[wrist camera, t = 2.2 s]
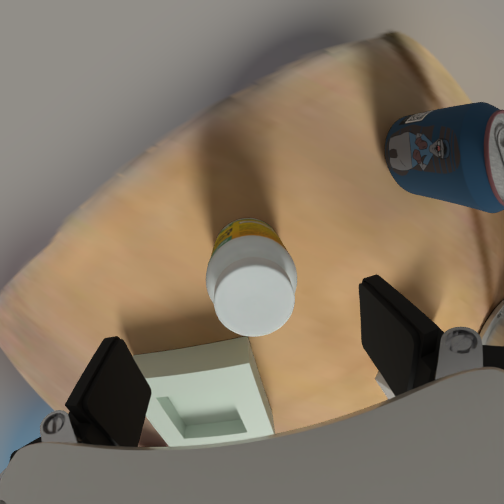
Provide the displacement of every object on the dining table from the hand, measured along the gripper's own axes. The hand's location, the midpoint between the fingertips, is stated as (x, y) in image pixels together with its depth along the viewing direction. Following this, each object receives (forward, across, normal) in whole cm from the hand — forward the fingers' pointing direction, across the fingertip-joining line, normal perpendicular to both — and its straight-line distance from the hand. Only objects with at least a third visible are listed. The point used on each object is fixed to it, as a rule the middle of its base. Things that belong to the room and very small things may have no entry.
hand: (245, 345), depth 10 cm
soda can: (+13, -17, -4) cm, 22 cm away
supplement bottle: (+13, -1, 0) cm, 13 cm away
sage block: (+13, +7, +14) cm, 21 cm away
